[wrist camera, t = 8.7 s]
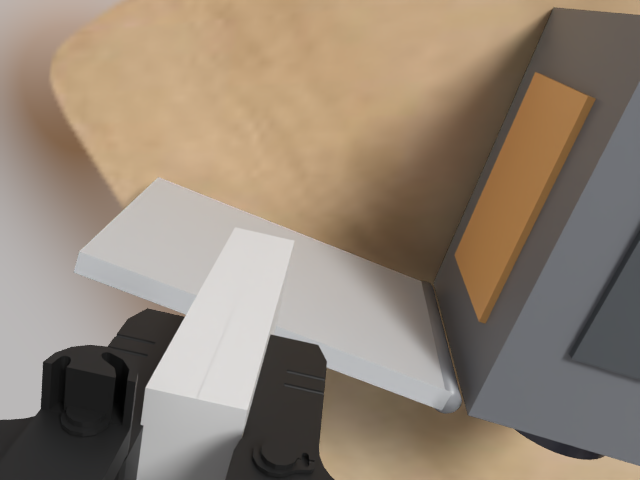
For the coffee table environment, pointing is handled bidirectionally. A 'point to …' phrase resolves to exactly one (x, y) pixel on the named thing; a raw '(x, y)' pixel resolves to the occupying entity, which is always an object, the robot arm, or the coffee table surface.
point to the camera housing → (557, 249)
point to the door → (299, 293)
